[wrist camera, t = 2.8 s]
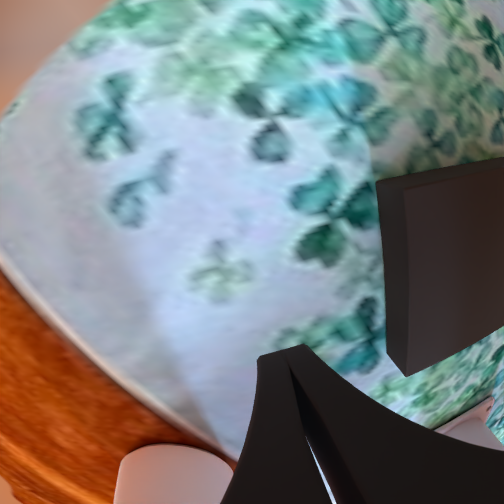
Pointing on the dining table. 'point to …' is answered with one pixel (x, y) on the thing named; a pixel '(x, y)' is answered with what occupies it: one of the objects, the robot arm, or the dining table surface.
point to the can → (171, 476)
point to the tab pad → (442, 260)
